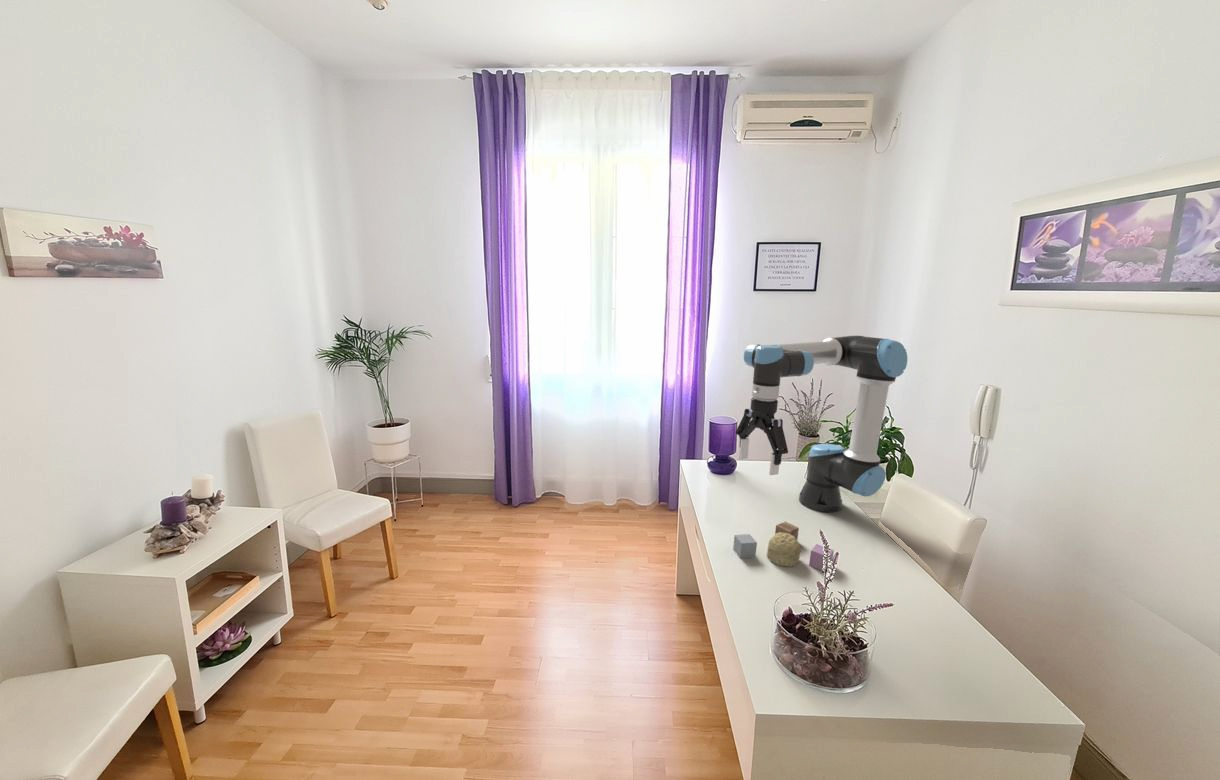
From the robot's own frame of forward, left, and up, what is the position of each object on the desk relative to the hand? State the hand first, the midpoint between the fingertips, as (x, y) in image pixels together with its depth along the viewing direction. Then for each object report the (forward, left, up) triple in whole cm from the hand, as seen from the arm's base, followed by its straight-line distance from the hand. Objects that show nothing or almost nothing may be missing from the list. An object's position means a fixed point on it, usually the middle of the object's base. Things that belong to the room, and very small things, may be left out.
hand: (757, 466), depth 150 cm
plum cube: (-13, +16, -27) cm, 34 cm away
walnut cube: (-14, +1, -27) cm, 31 cm away
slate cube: (+4, +2, -27) cm, 28 cm away
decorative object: (-5, +9, -27) cm, 29 cm away
